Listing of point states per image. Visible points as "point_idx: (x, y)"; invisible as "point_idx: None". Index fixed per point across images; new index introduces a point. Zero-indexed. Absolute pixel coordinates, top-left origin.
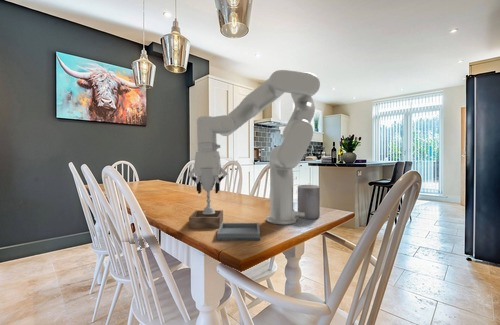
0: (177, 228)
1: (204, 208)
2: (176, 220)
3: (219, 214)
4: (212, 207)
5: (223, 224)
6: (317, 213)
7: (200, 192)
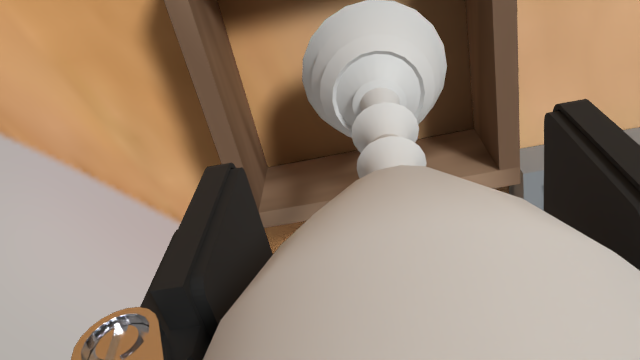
0: (180, 204)
1: (334, 123)
2: (7, 7)
3: (500, 81)
4: (427, 90)
5: (541, 181)
6: None
7: (263, 235)
